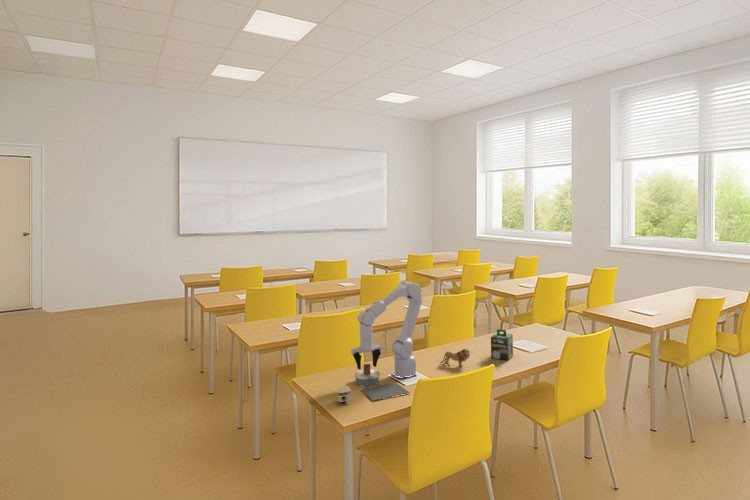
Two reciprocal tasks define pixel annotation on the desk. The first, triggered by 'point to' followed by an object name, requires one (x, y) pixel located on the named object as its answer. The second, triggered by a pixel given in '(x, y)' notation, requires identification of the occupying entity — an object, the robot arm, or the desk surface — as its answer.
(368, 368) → the lid
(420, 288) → the robot arm
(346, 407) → the desk surface
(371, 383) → the bowl
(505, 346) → the chalk box
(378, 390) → the mat
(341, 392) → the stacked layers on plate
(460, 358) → the lion figurine
